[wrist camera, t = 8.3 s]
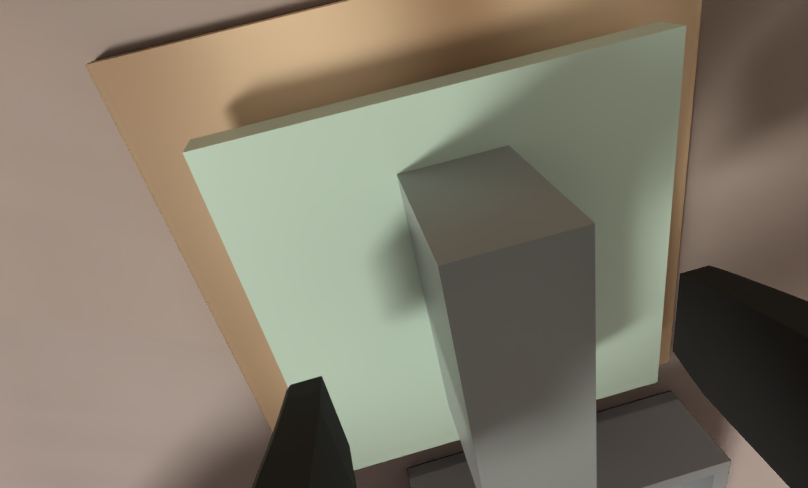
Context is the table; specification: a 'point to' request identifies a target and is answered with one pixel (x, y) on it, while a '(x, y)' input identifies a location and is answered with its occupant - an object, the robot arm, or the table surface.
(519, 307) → the lid
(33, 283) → the table surface
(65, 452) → the table surface
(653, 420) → the storage box
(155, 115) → the cork mat
